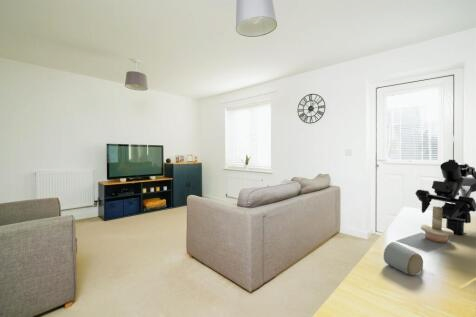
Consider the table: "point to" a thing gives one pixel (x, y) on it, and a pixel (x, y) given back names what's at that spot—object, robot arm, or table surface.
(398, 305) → the table surface
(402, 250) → the ceramic mug
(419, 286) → the table surface
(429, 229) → the birch lid
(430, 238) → the terracotta bowl
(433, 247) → the slate mat
